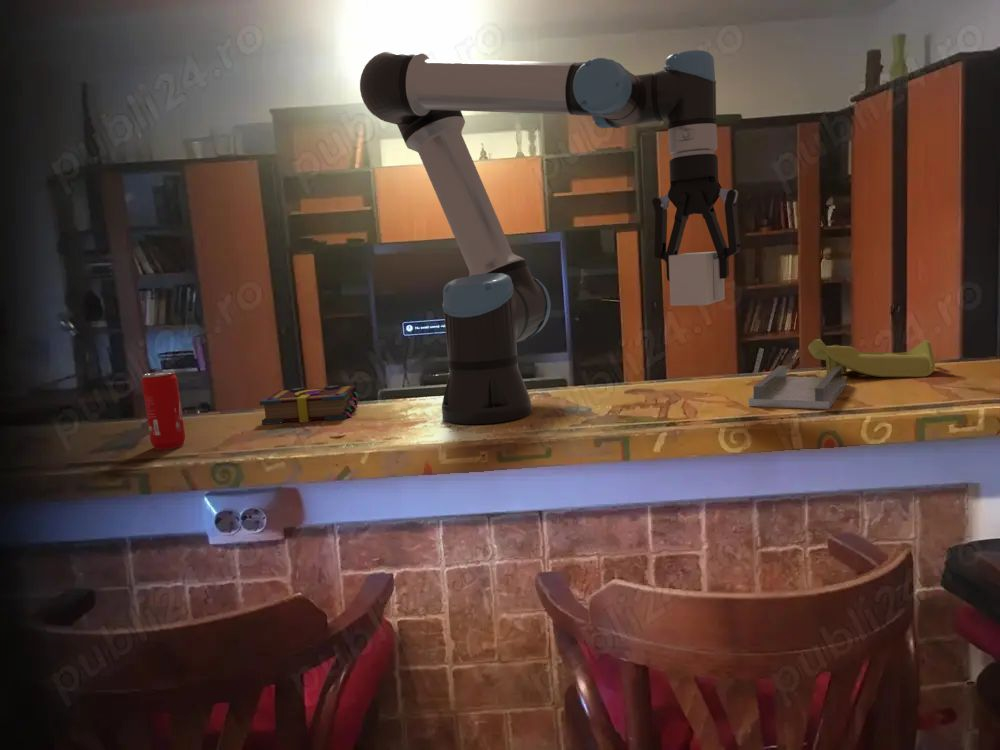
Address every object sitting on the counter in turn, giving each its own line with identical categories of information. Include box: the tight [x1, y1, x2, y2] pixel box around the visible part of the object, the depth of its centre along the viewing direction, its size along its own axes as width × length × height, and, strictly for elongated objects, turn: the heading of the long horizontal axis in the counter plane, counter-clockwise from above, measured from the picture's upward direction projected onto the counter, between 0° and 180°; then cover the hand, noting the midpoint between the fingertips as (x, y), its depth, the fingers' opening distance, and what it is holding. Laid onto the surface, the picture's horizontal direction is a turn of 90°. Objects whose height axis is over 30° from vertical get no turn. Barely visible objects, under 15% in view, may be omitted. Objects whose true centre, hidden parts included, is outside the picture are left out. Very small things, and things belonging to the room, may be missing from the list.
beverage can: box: [141, 370, 186, 451], centre depth 126 cm, size 5×5×12 cm
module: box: [669, 251, 726, 307], centre depth 129 cm, size 6×10×8 cm, turn 149°
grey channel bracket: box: [748, 365, 848, 410], centre depth 131 cm, size 12×20×3 cm, turn 149°
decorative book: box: [259, 384, 359, 425], centre depth 144 cm, size 11×16×5 cm
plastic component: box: [807, 338, 936, 378], centre depth 145 cm, size 20×7×10 cm
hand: (698, 299), depth 129 cm, fingers closed on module, 6 cm apart
